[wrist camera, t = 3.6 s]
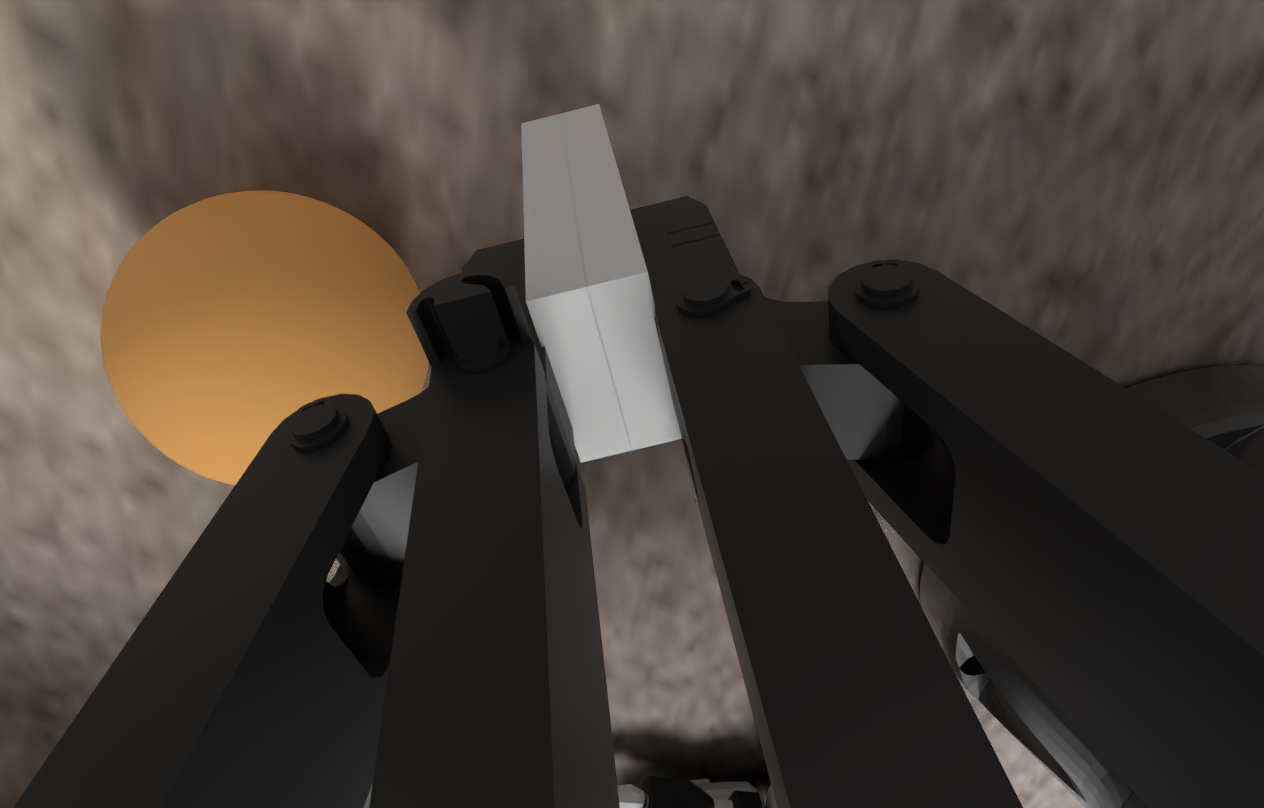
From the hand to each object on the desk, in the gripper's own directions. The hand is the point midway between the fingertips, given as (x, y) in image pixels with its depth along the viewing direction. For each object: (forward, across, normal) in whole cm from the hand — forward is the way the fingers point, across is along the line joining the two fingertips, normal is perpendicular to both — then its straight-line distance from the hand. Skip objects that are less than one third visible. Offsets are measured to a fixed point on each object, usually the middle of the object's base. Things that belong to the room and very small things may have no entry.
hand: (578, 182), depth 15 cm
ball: (-1, +7, +2) cm, 7 cm away
